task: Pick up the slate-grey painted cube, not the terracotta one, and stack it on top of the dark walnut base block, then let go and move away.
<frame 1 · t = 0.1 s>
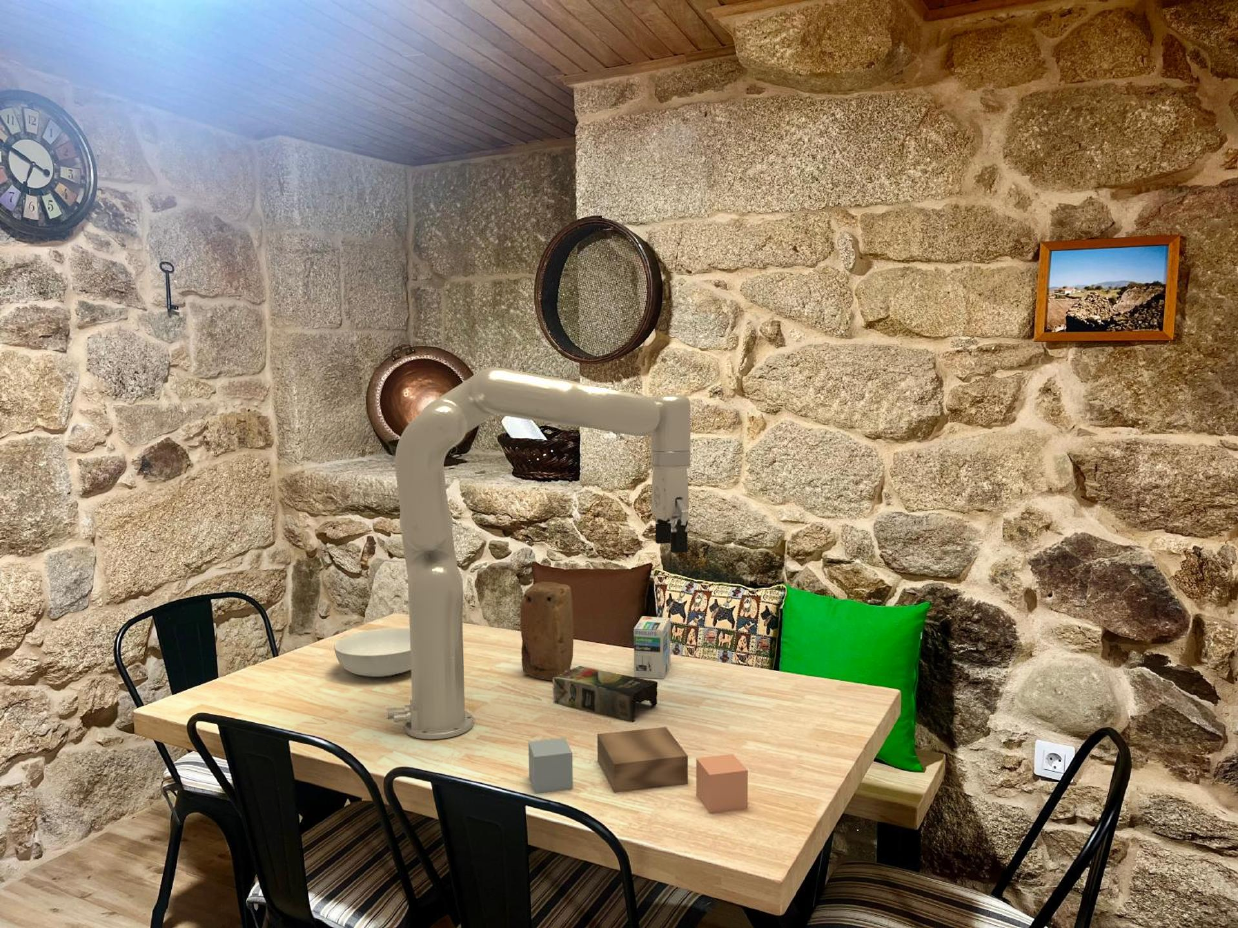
hand: (671, 547, 174), 31 cm above the table, tool pointing down, fingers open, 9 cm apart
serving bowl: (384, 671, 198), on the table
juice carton: (604, 707, 177), on the table
terracotta cube: (721, 801, 136), on the table
light bulb box: (652, 671, 197), on the table
base block: (641, 773, 147), on the table
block: (546, 676, 194), on the table
grey cube: (550, 783, 143), on the table
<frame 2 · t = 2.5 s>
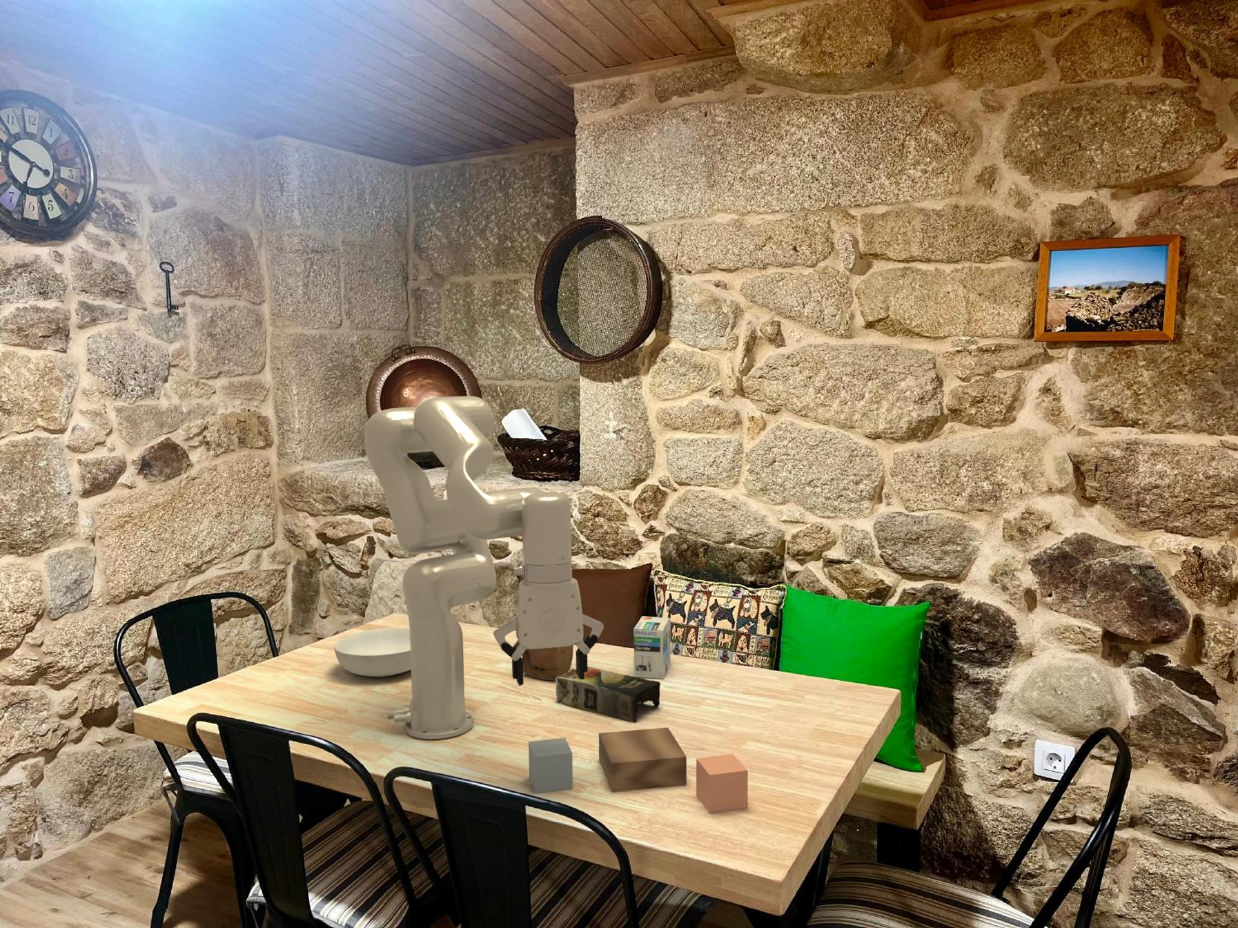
hand: (550, 679, 141), 17 cm above the table, tool pointing down, fingers open, 9 cm apart
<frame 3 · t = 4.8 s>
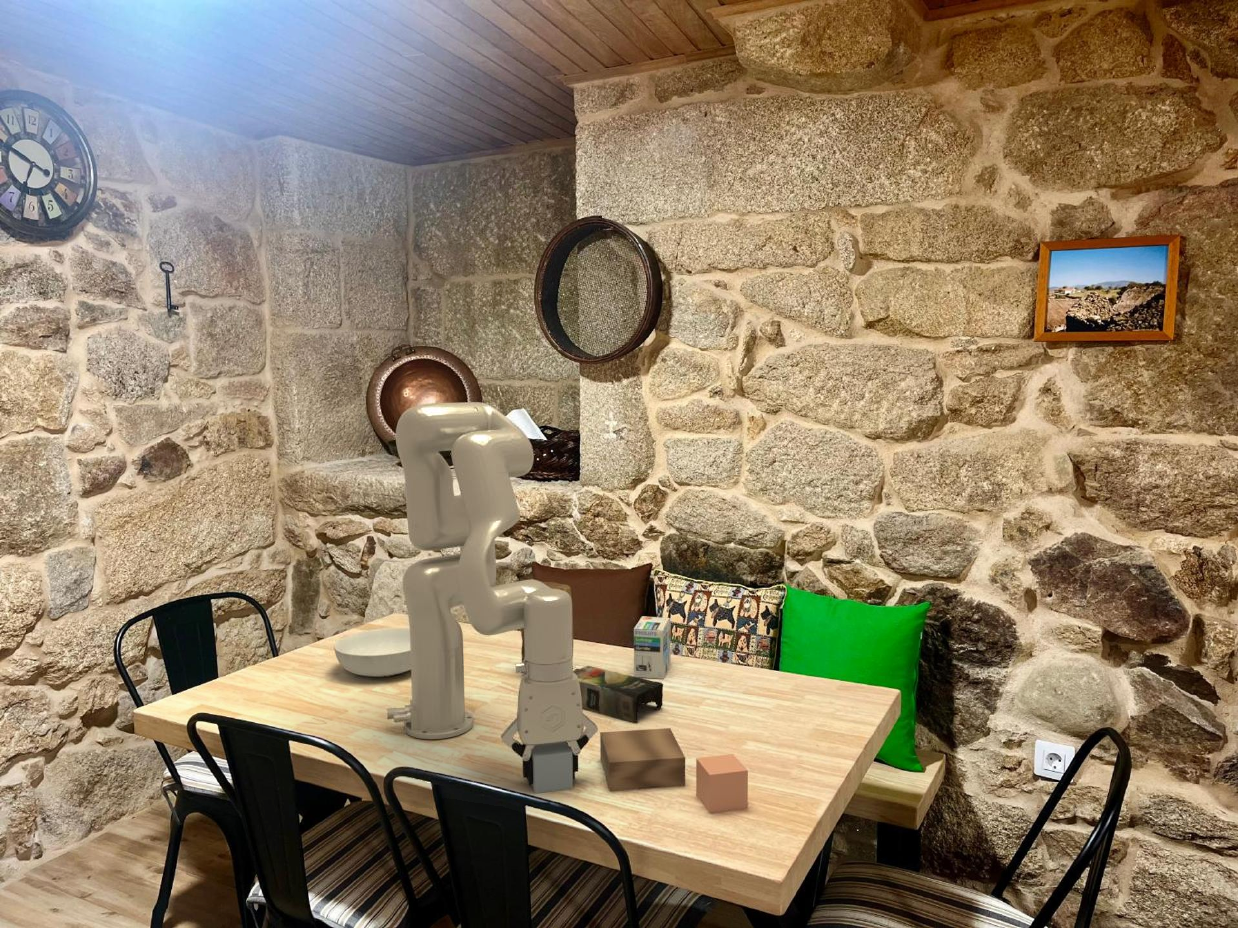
hand: (550, 777, 143), 1 cm above the table, tool pointing down, fingers closed on grey cube, 6 cm apart
grey cube: (550, 782, 143), on the table, touching gripper
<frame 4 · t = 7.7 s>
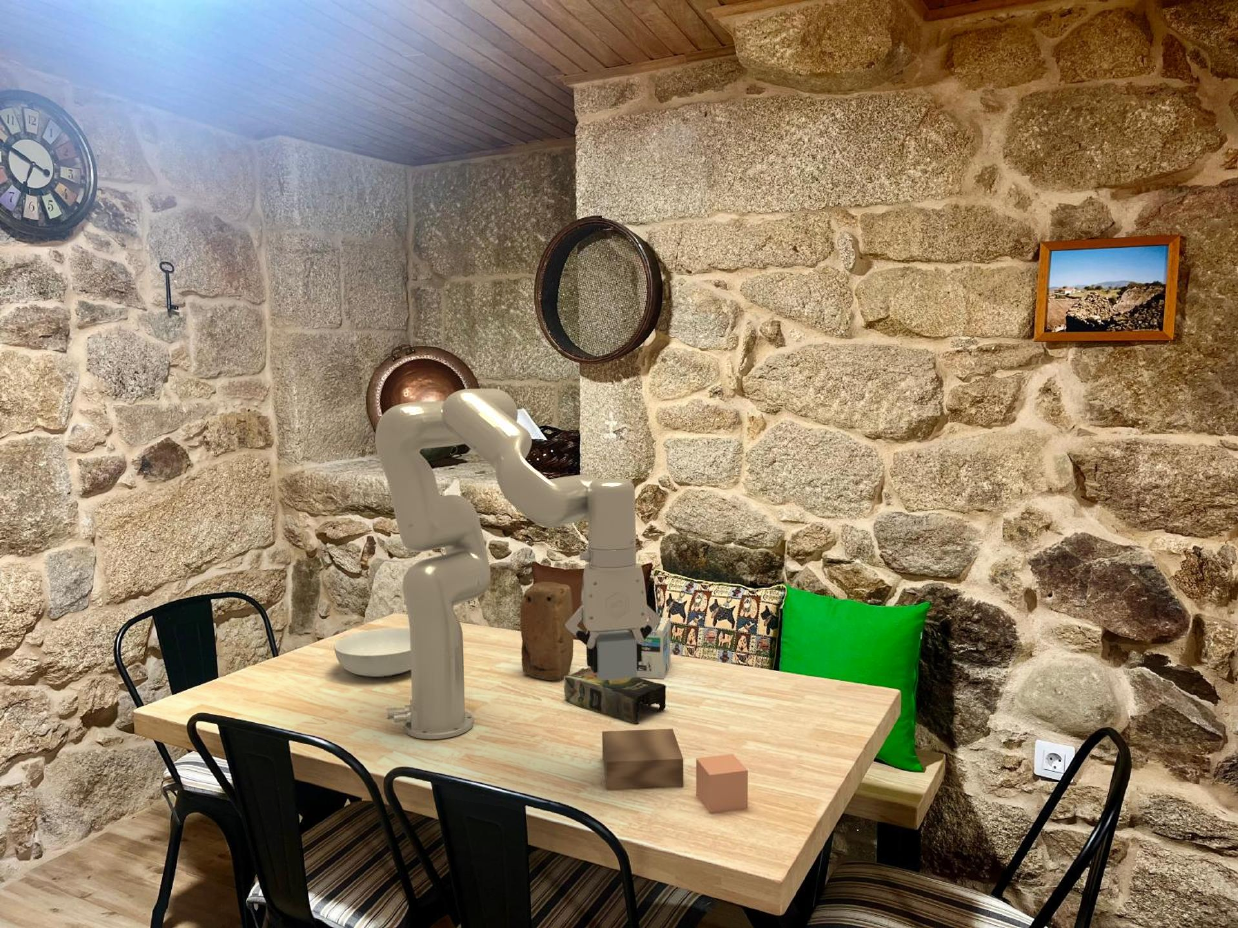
hand: (614, 667, 143), 18 cm above the table, tool pointing down, fingers closed on grey cube, 6 cm apart
grey cube: (614, 672, 143), point 17 cm above the table, touching gripper
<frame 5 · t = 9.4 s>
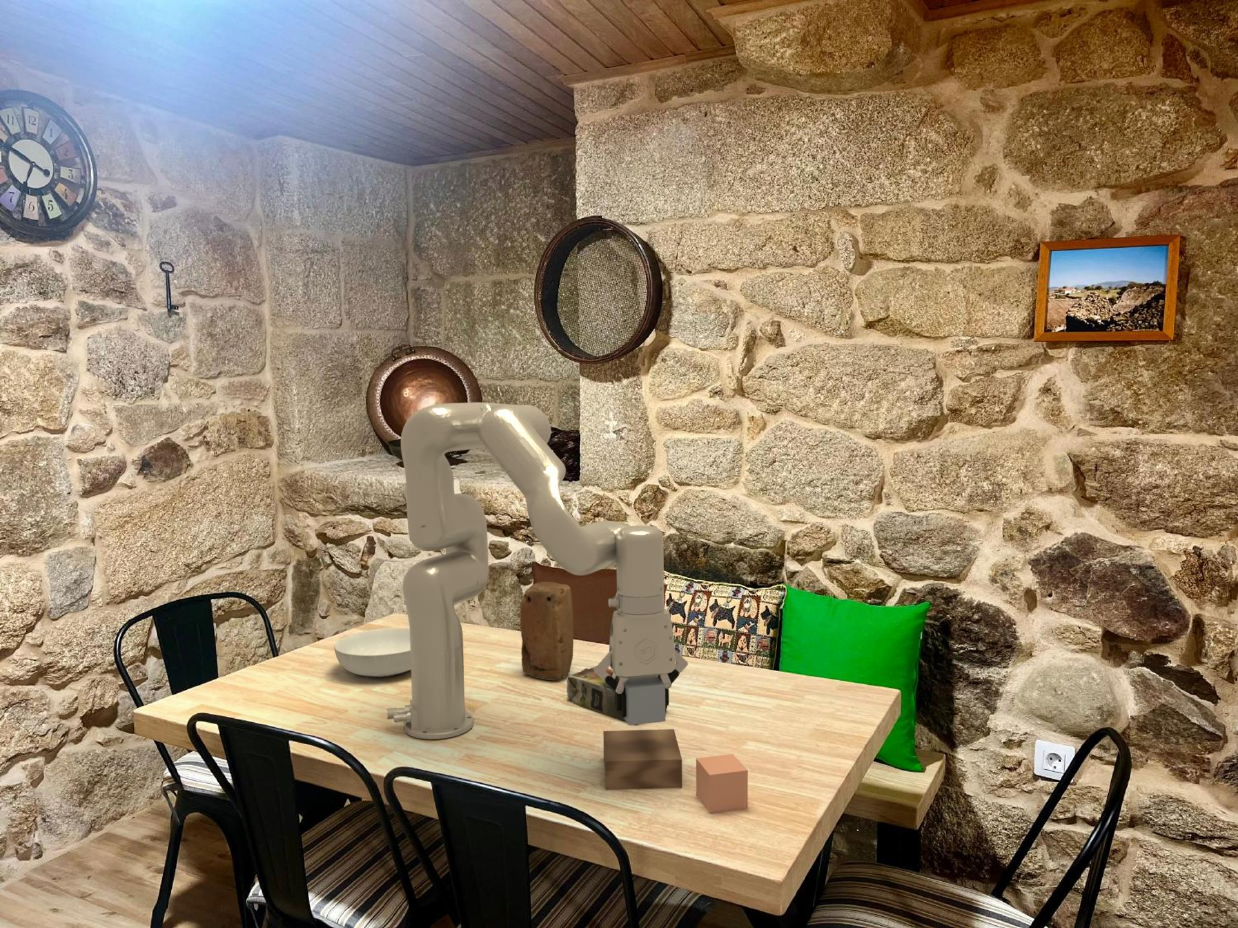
hand: (642, 711, 145), 10 cm above the table, tool pointing down, fingers closed on grey cube, 6 cm apart
grey cube: (642, 716, 145), point 9 cm above the table, touching gripper
when the fingers open (7 cm above the table, at t = 10.9 s): grey cube drops 2 cm, point 5 cm above the table.
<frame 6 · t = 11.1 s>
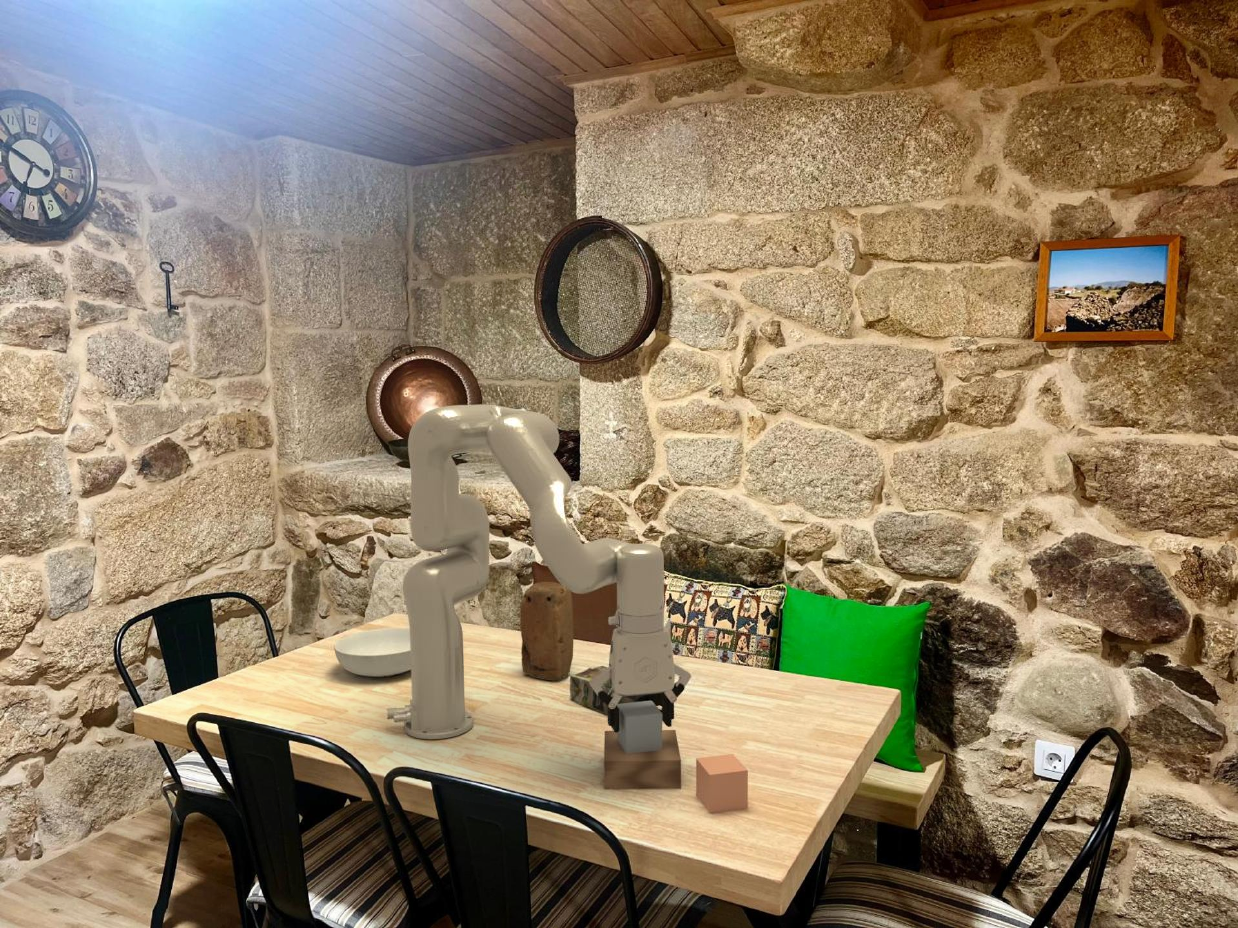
hand: (641, 726, 146), 8 cm above the table, tool pointing down, fingers open, 8 cm apart
grey cube: (639, 744, 146), point 5 cm above the table
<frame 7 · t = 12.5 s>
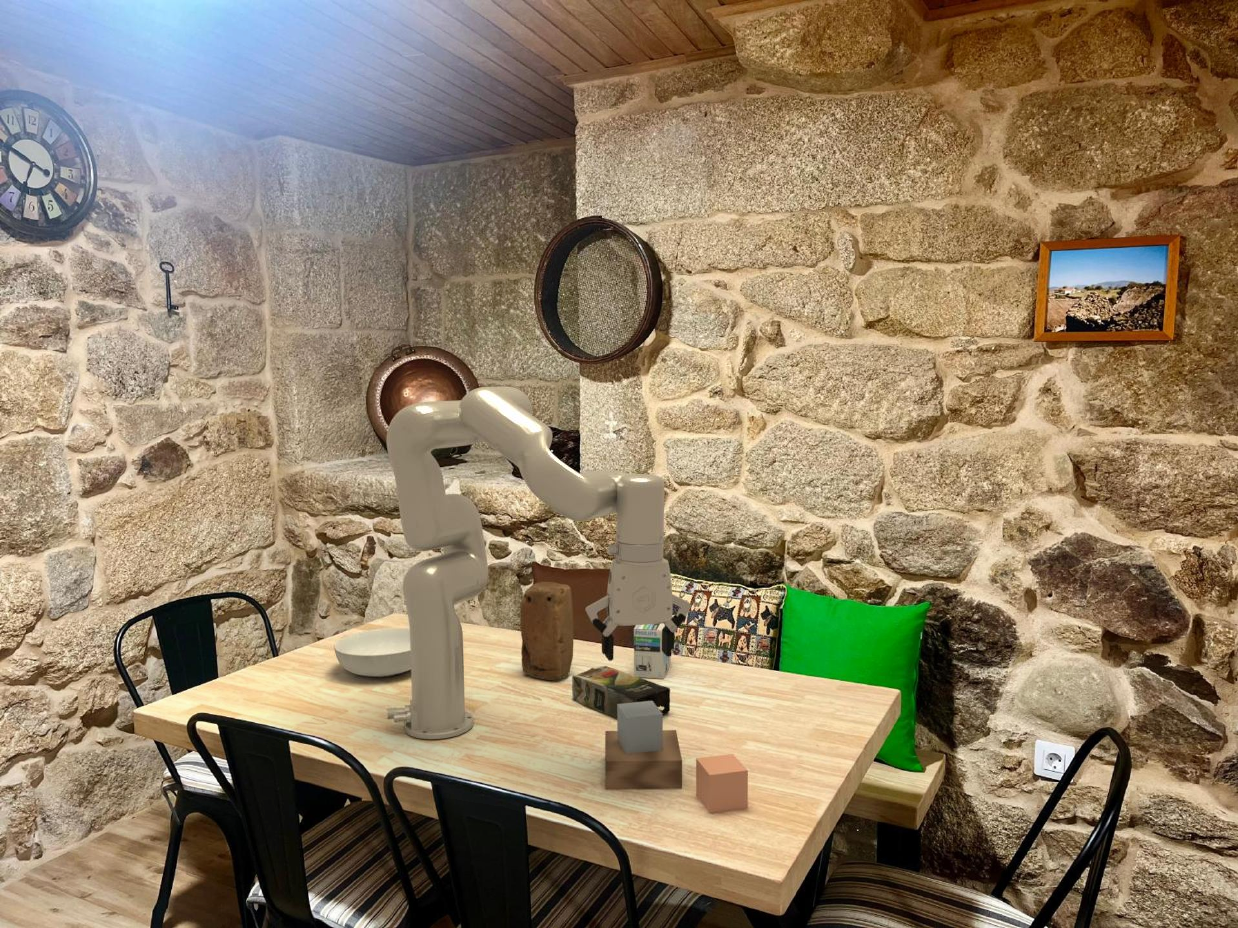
hand: (637, 655, 145), 19 cm above the table, tool pointing down, fingers open, 9 cm apart
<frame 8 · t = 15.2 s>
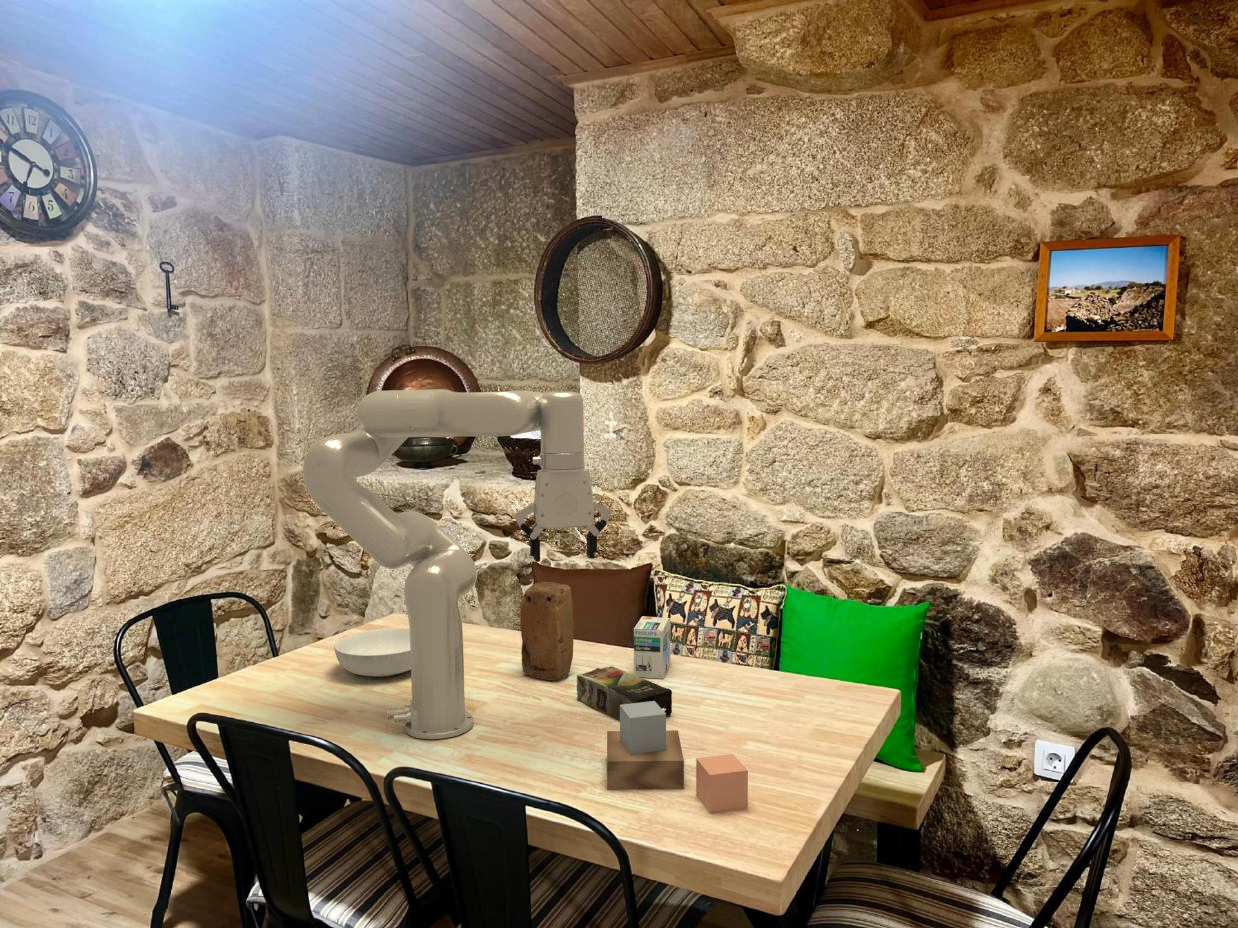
hand: (563, 558, 158), 32 cm above the table, tool pointing down, fingers open, 9 cm apart
at the end: grey cube inside the target area on the base block (0.3 cm from its centre), point 5.0 cm above the base block's base; grey cube tilted 0°; the gripper is holding nothing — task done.
